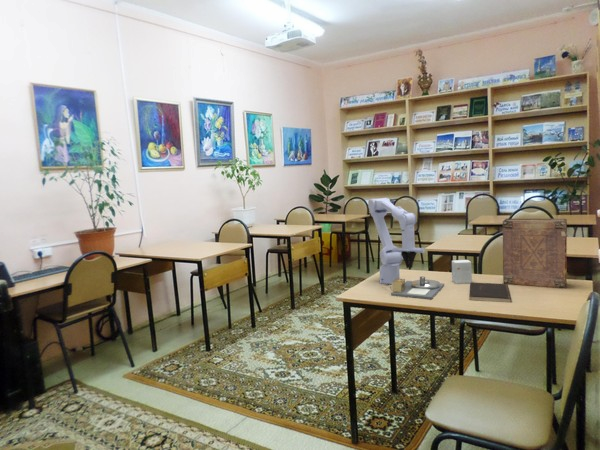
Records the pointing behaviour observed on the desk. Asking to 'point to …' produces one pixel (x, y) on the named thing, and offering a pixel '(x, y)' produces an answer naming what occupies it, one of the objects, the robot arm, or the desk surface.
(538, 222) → the book
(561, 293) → the desk surface
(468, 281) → the small box
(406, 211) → the robot arm
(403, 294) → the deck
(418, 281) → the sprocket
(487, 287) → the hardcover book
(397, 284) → the link block
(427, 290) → the pad
